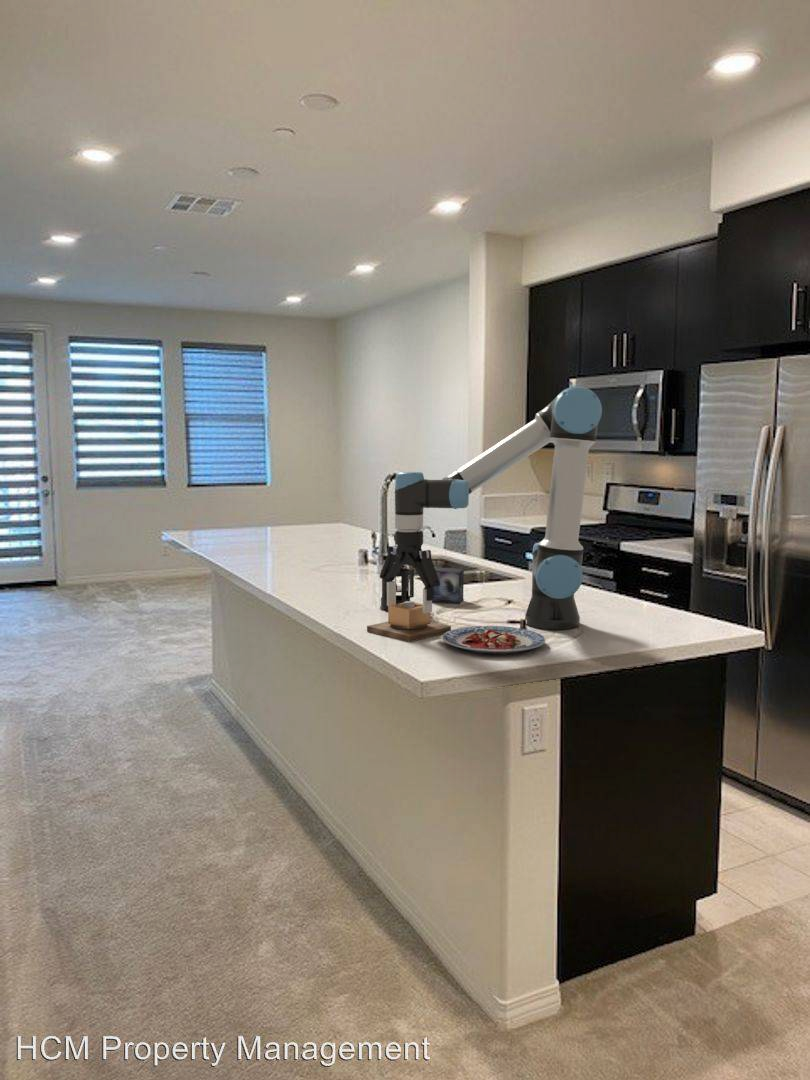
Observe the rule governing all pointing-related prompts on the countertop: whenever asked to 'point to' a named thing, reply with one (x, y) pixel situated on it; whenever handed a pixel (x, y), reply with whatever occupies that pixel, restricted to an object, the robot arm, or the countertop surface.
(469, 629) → the ceramic plate
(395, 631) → the post stand
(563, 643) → the countertop surface
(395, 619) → the open wooden box
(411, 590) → the french press
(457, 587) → the small box
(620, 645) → the countertop surface
